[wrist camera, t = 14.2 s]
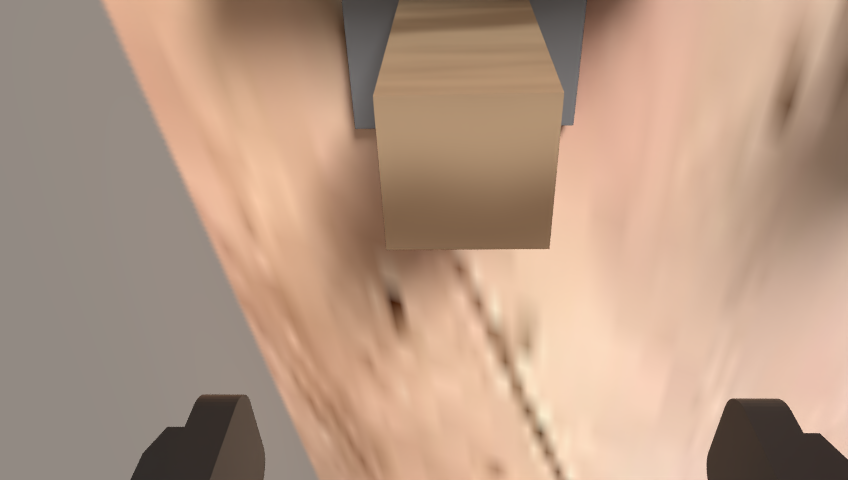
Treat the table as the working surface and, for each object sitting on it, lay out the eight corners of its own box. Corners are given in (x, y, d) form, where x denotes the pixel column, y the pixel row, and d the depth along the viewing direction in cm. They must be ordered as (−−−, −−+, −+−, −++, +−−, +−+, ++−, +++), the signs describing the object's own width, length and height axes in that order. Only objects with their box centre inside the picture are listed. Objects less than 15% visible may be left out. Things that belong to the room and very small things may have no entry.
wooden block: (400, -8, 26) (372, 96, 17) (524, -11, 25) (564, 92, 16) (407, 114, 29) (387, 258, 20) (518, 112, 28) (548, 257, 19)
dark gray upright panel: (341, -38, 26) (338, -33, 25) (586, -45, 25) (591, -40, 25) (357, 119, 30) (355, 128, 29) (569, 116, 29) (573, 125, 29)
